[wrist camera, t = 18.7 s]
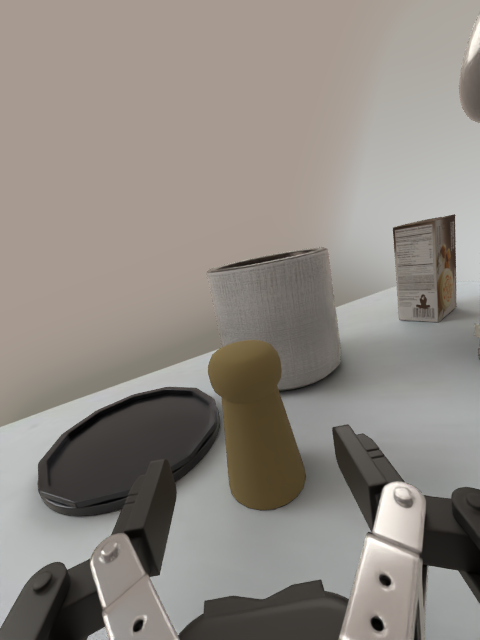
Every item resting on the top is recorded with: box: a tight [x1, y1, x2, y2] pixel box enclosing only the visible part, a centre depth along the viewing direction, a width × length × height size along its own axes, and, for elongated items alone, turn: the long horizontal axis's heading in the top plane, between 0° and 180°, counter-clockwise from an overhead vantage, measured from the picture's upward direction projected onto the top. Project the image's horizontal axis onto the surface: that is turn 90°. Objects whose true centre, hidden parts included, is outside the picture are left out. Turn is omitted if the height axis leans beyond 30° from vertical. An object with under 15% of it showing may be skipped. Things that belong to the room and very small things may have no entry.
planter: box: [207, 247, 341, 391], centre depth 39 cm, size 16×16×16 cm
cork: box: [208, 340, 306, 510], centre depth 21 cm, size 6×6×11 cm
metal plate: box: [38, 387, 220, 516], centre depth 31 cm, size 18×18×1 cm
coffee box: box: [393, 215, 456, 322], centre depth 49 cm, size 9×6×16 cm
